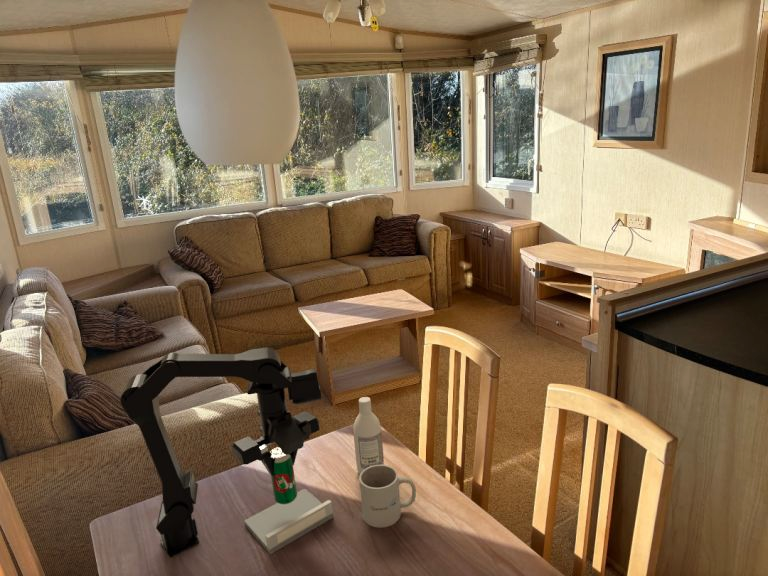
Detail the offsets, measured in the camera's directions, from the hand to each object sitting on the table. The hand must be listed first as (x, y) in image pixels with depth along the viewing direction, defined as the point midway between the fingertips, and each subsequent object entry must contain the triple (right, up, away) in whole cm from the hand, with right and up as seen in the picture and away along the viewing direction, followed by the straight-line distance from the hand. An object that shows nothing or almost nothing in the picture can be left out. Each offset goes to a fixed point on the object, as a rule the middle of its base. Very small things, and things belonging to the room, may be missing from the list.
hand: (281, 469), depth 122 cm
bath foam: (+19, -6, +19) cm, 28 cm away
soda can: (+1, -7, +2) cm, 8 cm away
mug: (+24, -11, +3) cm, 27 cm away
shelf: (+1, -13, +3) cm, 13 cm away
